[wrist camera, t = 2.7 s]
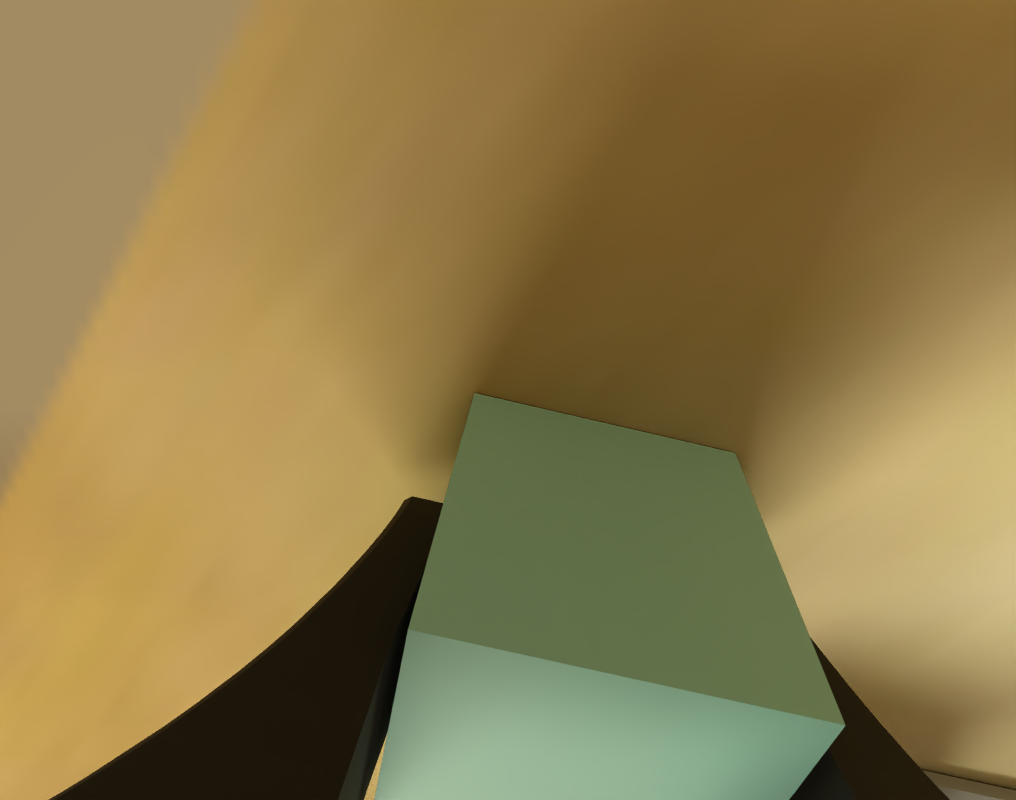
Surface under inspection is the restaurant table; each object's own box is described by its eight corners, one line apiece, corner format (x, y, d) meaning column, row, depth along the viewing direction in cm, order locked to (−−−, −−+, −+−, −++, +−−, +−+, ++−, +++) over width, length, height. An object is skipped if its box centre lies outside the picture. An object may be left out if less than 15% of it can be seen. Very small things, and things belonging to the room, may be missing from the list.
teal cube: (735, 452, 11) (846, 725, 6) (650, 633, 13) (691, 928, 9) (474, 392, 11) (407, 629, 6) (433, 585, 13) (362, 859, 9)
